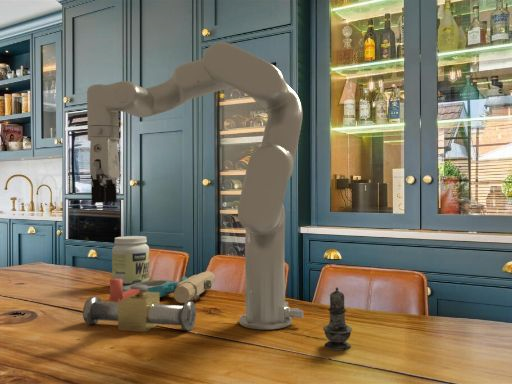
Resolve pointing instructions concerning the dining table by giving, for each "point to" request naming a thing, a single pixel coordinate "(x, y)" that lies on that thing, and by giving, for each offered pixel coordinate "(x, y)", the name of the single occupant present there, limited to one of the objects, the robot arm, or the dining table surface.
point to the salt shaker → (337, 324)
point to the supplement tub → (130, 260)
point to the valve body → (140, 312)
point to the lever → (118, 293)
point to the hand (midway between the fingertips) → (104, 201)
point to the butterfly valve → (180, 286)
